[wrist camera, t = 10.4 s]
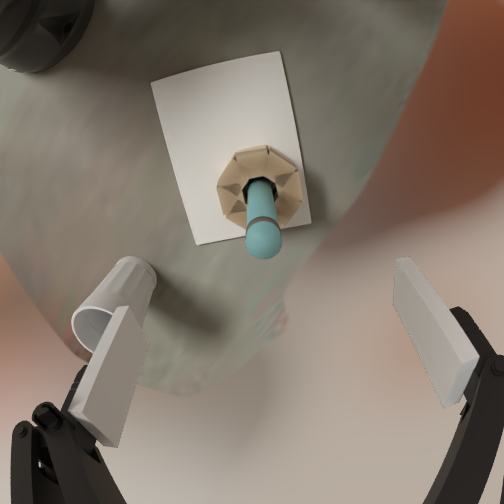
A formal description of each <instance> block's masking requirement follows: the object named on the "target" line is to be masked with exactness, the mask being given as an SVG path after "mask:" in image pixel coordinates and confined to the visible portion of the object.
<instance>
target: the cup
mask: <svg viewBox="0 0 504 504" xmlns="http://www.w3.org/2000/svg"><path fill="white" fill-rule="evenodd" d="M156 284H157V277H156V273H155V271H154V269H153V268H152V267H151V265H150V264H148V263H147V262H146V261H144V260H143V259H141V258H138V257H133V256H128V257H124V258H122V259H120V260H119V261H118V262H117V264H116V265H115V266H114V268H113V269H112V271H111V272H110V273H109V274H108V275H107V276H106V277H105V279H104V280H103V281H102V282H101V283H100V284H99V285H98V287H97V288H96V289H95V290H94V291H93V293H92V294H91V295H90V296H88V298H87V299H86V300H85V301H84V302H83V303H82V304H81V306H80V307H79V308H78V309H77V310H76V311H75V313H74V314H73V316H72V329H73V332H74V334H75V336H76V337H77V339H78V340H79V342H80V343H81V344H82V345H83V346H84V347H85V348H86V349H87V350H89V351H90V352H92V353H93V354H94V352H95V350H96V348H97V345H98V343H99V341H100V339H101V337H102V335H103V333H104V331H105V329H106V327H107V325H108V324H109V322H110V320H111V318H112V316H113V314H114V312H115V310H116V308H117V307H122V306H130V308H131V310H132V312H133V314H134V316H135V318H136V320H137V322H138V323H139V325H140V327H141V329H142V325H143V322H144V318H145V315H146V312H147V309H148V305H149V302H150V299H151V296H152V293H153V291H154V289H155V287H156Z"/></svg>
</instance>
